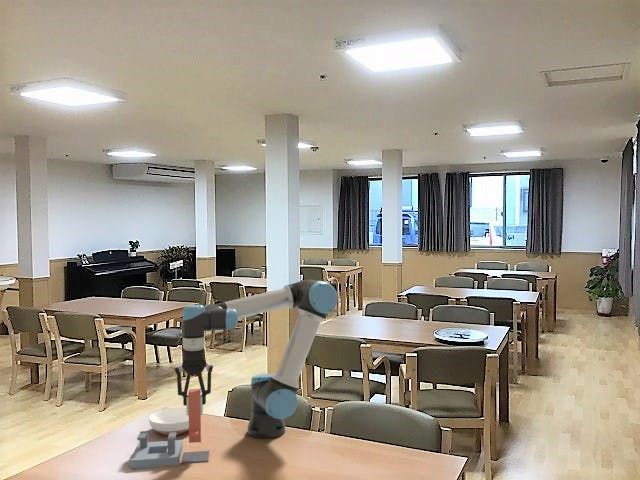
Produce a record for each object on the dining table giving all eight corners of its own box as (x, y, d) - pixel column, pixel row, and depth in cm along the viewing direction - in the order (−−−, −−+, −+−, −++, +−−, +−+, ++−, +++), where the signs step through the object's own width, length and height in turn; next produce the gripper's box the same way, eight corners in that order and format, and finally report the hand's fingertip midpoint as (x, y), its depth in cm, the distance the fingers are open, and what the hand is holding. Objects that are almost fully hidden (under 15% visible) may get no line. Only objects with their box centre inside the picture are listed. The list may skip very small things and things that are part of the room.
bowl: (192, 439, 222) (192, 423, 222) (142, 439, 222) (142, 423, 222) (203, 422, 242) (203, 407, 241) (157, 422, 242) (157, 407, 242)
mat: (209, 451, 209) (209, 450, 209) (208, 461, 200) (208, 460, 200) (184, 453, 208) (184, 452, 208) (181, 463, 199) (181, 462, 199)
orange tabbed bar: (190, 435, 209) (189, 386, 209) (201, 434, 210) (201, 385, 209) (188, 446, 198) (187, 395, 197) (200, 446, 198) (199, 394, 198)
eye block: (182, 447, 213) (182, 425, 213) (178, 465, 197) (178, 441, 197) (138, 451, 211) (137, 428, 210) (130, 469, 195) (130, 445, 195)
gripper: (168, 351, 198) (169, 418, 199) (218, 349, 201) (218, 415, 201) (170, 347, 205) (171, 411, 206) (218, 345, 208) (219, 409, 209)
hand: (194, 413), depth 204 cm, fingers closed on orange tabbed bar, 4 cm apart
